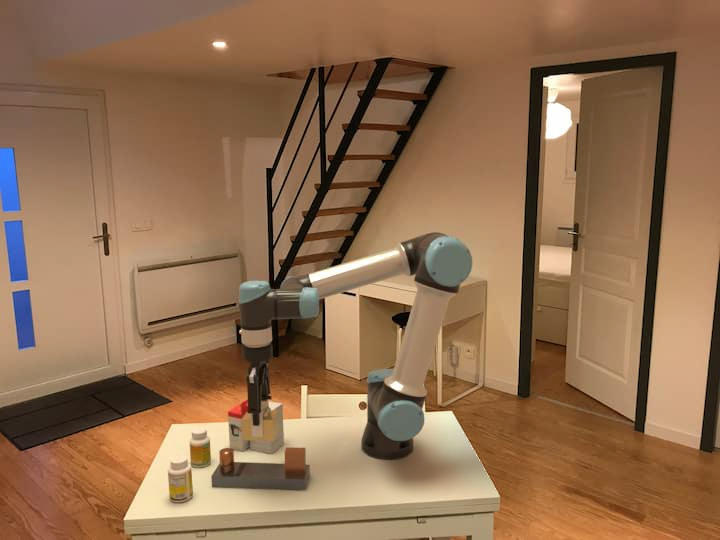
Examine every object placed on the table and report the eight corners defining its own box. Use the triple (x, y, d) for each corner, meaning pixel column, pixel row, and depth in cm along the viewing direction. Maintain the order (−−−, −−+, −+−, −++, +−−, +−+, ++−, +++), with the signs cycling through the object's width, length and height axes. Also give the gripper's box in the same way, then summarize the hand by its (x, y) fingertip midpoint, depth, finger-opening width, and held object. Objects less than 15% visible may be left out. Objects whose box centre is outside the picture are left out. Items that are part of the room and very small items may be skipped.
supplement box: (284, 443, 173) (283, 403, 171) (270, 454, 167) (269, 412, 165) (263, 439, 177) (262, 399, 174) (249, 449, 170) (247, 408, 168)
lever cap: (279, 430, 153) (278, 405, 152) (274, 440, 147) (272, 414, 146) (249, 429, 154) (247, 404, 153) (242, 440, 148) (241, 414, 147)
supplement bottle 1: (184, 488, 149) (182, 451, 147) (197, 496, 146) (195, 458, 144) (165, 498, 145) (162, 459, 143) (177, 506, 141) (175, 466, 140)
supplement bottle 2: (205, 469, 159) (203, 435, 157) (187, 467, 160) (185, 433, 158) (214, 459, 164) (212, 426, 162) (196, 457, 165) (194, 425, 164)
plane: (309, 475, 156) (309, 443, 154) (304, 490, 148) (304, 457, 147) (221, 471, 157) (219, 440, 156) (211, 487, 150) (210, 454, 148)
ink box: (246, 436, 178) (244, 390, 176) (259, 439, 176) (258, 393, 173) (228, 448, 170) (226, 401, 168) (243, 452, 168) (241, 403, 166)
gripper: (251, 332, 156) (255, 414, 160) (231, 355, 137) (236, 447, 141) (279, 332, 155) (283, 415, 159) (262, 355, 137) (266, 447, 141)
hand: (261, 430), depth 150 cm, fingers closed on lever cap, 6 cm apart
